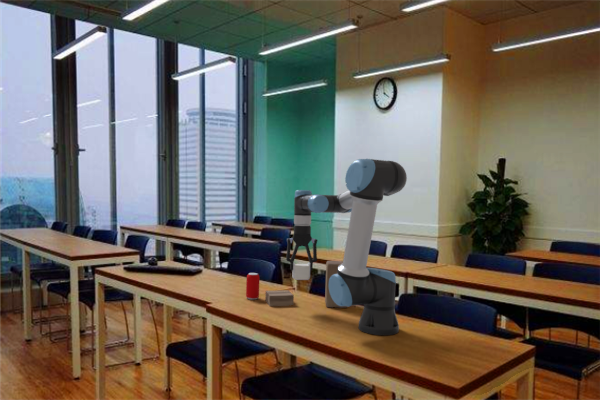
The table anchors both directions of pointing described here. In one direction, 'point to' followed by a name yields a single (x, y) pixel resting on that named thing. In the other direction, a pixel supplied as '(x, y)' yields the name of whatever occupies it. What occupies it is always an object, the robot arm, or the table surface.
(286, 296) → the walnut block
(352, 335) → the table surface
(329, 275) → the wooden block
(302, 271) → the cream cube
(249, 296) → the beverage can
